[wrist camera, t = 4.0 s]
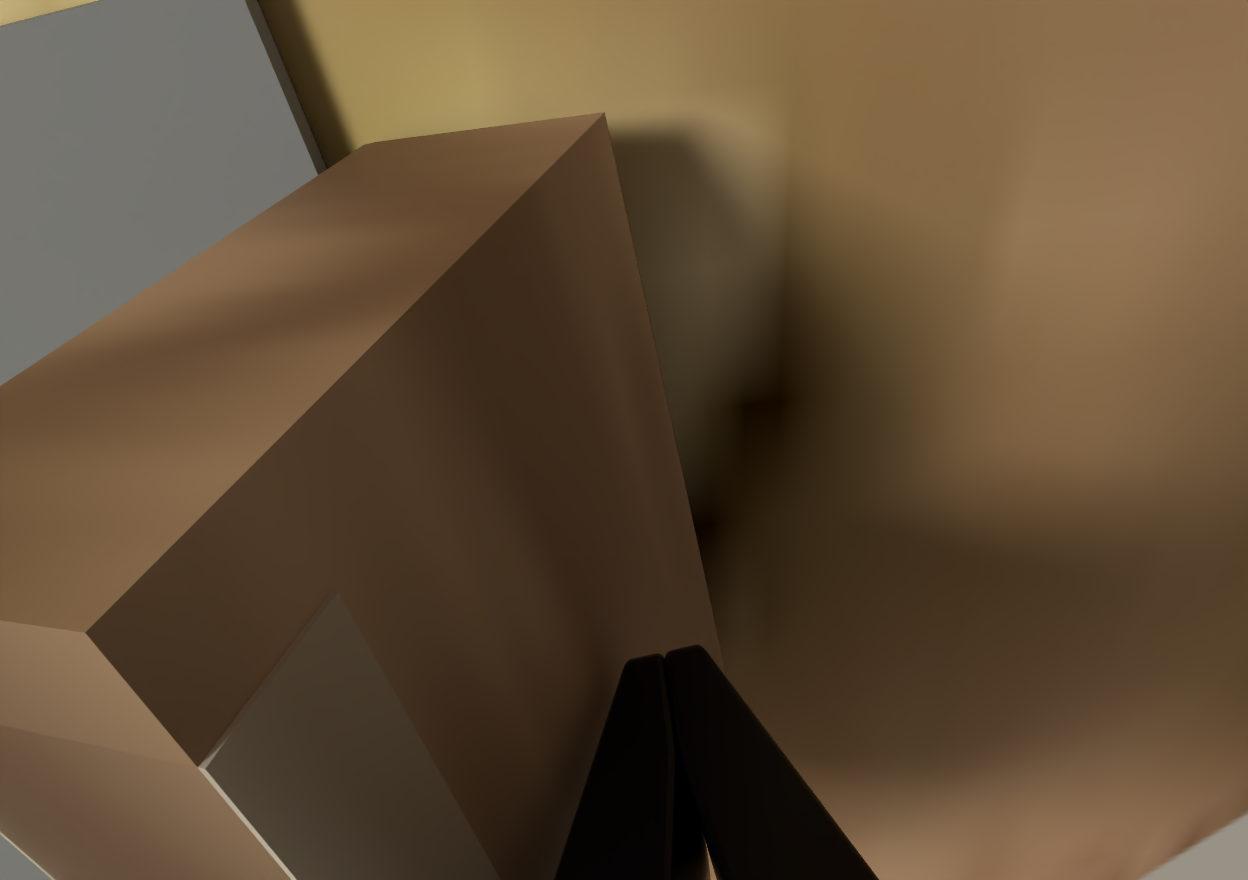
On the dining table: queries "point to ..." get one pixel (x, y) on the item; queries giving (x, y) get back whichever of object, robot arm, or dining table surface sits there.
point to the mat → (130, 164)
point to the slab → (346, 531)
